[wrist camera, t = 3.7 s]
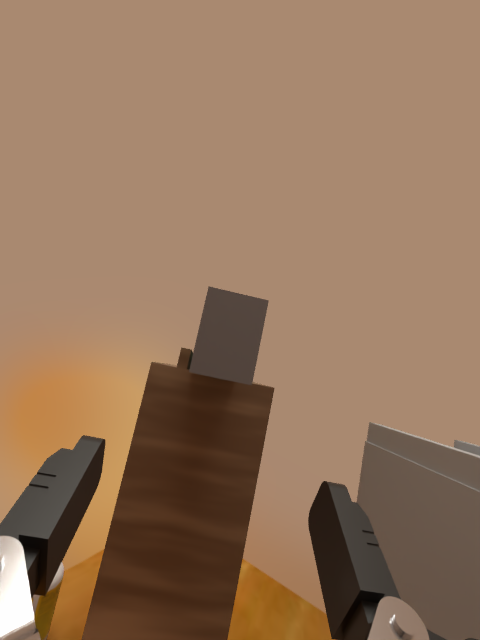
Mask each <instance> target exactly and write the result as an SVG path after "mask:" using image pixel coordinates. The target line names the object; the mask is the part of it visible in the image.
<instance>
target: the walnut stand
mask: <svg viewBox="0 0 480 640" xmlns="http://www.w3.org/2000/svg"><path fill="white" fill-rule="evenodd" d="M192 357H193V352H192V350H190V349H186V348H181V352H180V356H179V360H178V364H177V366H175V365H171V364H164V363H155V362H152V363H151V366H150V370H149V374H148V378H147V382H146V387H145V391H144V394H143V399H142V402H141V406H140V410H139V414H138V418H137V422H136V426H135V430H134V434H133V438H132V442H131V446H130V450H129V454H128V458H127V462H126V466H125V470H124V474H123V478H122V482H121V486H120V490H119V494H118V498H117V502H116V506H115V510H114V514H113V518H112V521H111V525H110V529H109V534H108V537H107V541H106V545H105V549H104V553H103V557H102V561H101V565H100V569H99V573H98V577H97V581H96V585H95V589H94V593H93V597H92V601H91V605H90V609H89V613H88V617H87V621H86V625H85V629H84V633H83V637H82V640H227V638H228V632H229V627H230V622H231V616H232V611H233V606H234V600H235V595H236V590H237V584H238V579H239V574H240V568H241V563H242V558H243V552H244V547H245V541H246V536H247V531H248V526H249V521H250V515H251V510H252V505H253V499H254V494H255V489H256V483H257V478H258V473H259V467H260V462H261V456H262V451H263V446H264V441H265V435H266V430H267V425H268V419H269V414H270V408H271V403H272V398H273V392H274V388H273V387H269V386H265V385H262V384H258V383H254V382H252V385H248V384H243V383H238V382H234V381H229V380H224V379H219V378H214V377H210V376H205V375H200V374H195V373H191V372H189V370H190V365H191V361H192Z"/></svg>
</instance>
